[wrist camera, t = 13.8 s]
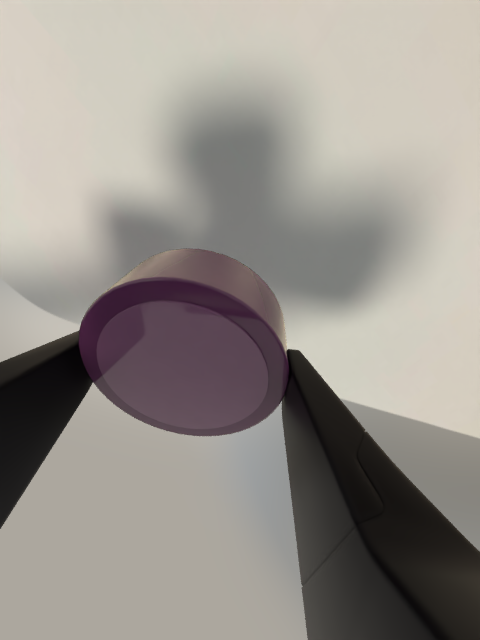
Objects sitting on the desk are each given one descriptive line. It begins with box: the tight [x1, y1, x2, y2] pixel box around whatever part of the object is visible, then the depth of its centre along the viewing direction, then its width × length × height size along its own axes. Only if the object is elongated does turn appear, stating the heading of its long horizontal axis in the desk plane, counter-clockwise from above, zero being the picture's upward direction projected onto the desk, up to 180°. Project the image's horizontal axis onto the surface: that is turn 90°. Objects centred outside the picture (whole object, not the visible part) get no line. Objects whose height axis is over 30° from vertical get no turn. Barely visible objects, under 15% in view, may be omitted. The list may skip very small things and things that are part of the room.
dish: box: [78, 249, 289, 436], centre depth 8 cm, size 6×6×2 cm
